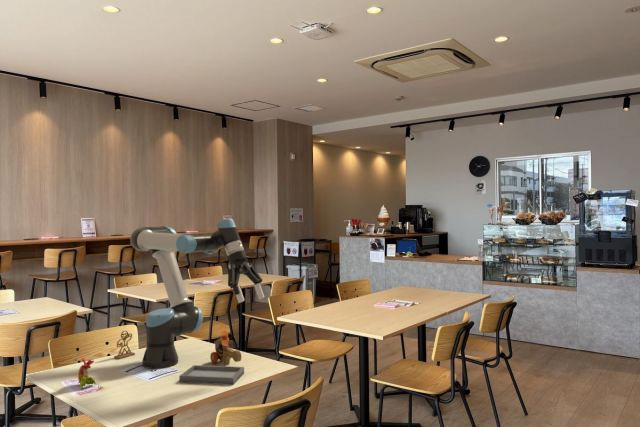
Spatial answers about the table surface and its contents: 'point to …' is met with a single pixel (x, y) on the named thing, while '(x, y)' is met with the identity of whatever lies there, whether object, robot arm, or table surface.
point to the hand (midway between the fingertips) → (252, 300)
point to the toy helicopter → (224, 351)
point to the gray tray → (212, 374)
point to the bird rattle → (85, 374)
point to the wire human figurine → (124, 348)
